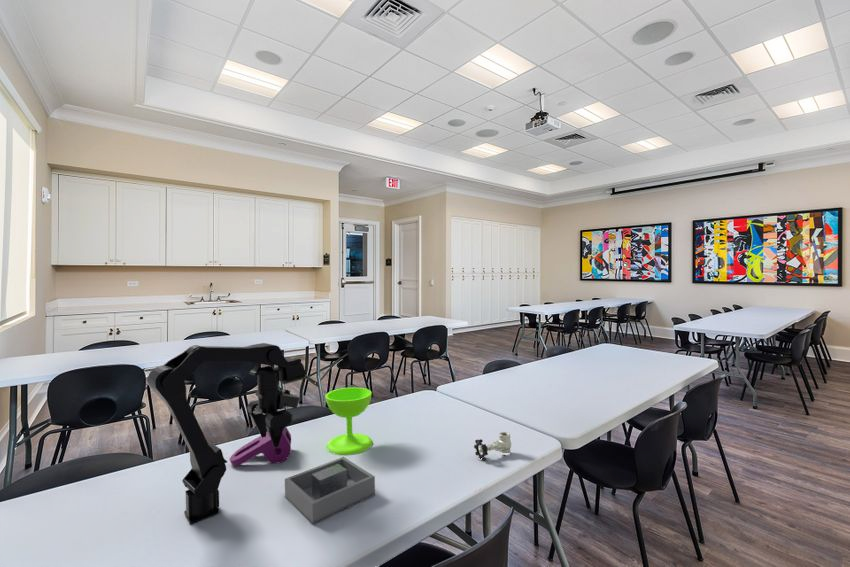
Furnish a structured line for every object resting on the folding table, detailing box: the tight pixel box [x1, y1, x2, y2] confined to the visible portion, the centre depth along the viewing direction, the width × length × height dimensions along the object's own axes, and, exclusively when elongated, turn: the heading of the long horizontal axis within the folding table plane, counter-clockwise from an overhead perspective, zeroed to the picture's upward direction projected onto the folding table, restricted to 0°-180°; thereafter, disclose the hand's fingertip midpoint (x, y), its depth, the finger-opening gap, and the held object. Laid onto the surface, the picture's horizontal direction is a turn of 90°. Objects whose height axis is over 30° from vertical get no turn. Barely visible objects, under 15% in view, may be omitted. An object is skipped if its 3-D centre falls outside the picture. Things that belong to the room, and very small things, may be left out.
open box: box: [284, 456, 376, 525], centre depth 103 cm, size 18×16×5 cm
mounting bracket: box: [228, 426, 292, 467], centre depth 125 cm, size 9×8×18 cm
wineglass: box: [324, 387, 373, 456], centre depth 134 cm, size 16×16×18 cm
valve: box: [473, 431, 512, 462], centre depth 124 cm, size 7×7×12 cm
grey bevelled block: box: [312, 464, 347, 500], centre depth 103 cm, size 8×4×6 cm, turn 133°
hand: (269, 441), depth 110 cm, fingers open, 9 cm apart
